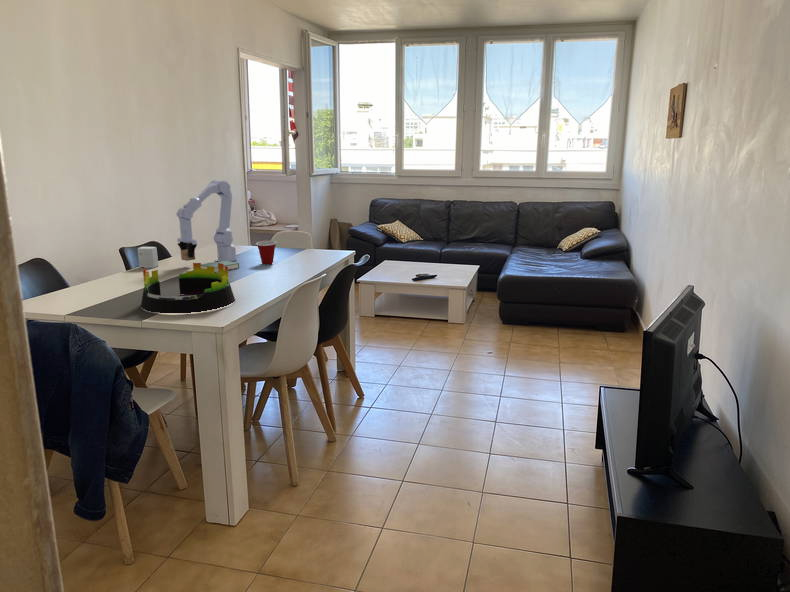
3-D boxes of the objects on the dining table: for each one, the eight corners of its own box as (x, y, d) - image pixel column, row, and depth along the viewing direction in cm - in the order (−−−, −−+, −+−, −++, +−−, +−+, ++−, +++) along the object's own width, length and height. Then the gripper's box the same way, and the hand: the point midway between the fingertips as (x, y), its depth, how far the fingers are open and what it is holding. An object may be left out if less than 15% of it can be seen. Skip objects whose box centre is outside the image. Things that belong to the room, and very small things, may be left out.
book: (225, 265, 330) (224, 260, 329) (239, 268, 323) (239, 262, 322) (199, 270, 318) (199, 264, 317) (213, 273, 311) (213, 267, 310)
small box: (158, 266, 326) (157, 246, 323) (153, 268, 321) (151, 248, 318) (144, 266, 327) (142, 246, 324) (139, 268, 321) (137, 248, 319)
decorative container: (123, 315, 234) (119, 276, 231) (163, 292, 270) (160, 259, 266) (218, 317, 233) (216, 278, 229) (246, 294, 268) (244, 260, 265)
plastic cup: (252, 264, 331) (251, 242, 329) (264, 261, 341) (263, 240, 338) (270, 266, 327) (269, 244, 325) (281, 263, 337) (280, 241, 334)
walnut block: (189, 258, 328) (189, 248, 326) (195, 259, 325) (194, 250, 323) (181, 259, 324) (180, 250, 323) (186, 260, 321) (186, 251, 320)
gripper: (171, 230, 322) (173, 256, 325) (187, 233, 313) (189, 259, 316) (183, 229, 327) (185, 254, 331) (199, 231, 319) (201, 257, 322)
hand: (188, 256), depth 324 cm, fingers closed on walnut block, 5 cm apart
